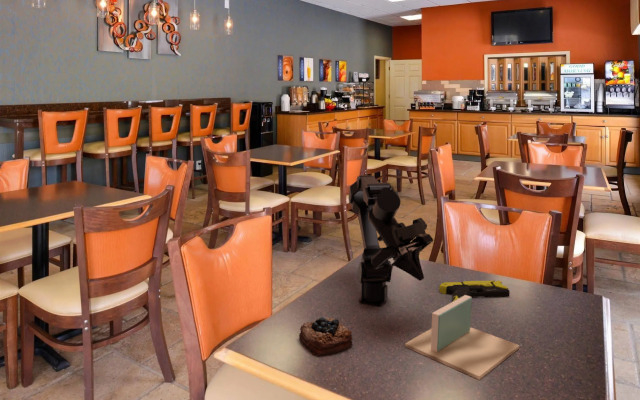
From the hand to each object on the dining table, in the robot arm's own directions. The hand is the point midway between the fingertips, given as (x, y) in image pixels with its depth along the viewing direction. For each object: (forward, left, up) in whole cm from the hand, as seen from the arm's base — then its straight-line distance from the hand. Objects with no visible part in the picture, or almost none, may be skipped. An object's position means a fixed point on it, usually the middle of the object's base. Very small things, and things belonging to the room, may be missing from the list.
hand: (422, 279), depth 122 cm
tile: (+8, -3, -13) cm, 15 cm away
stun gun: (+9, +26, -14) cm, 31 cm away
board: (+11, -4, -14) cm, 18 cm away
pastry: (-19, -15, -14) cm, 28 cm away
